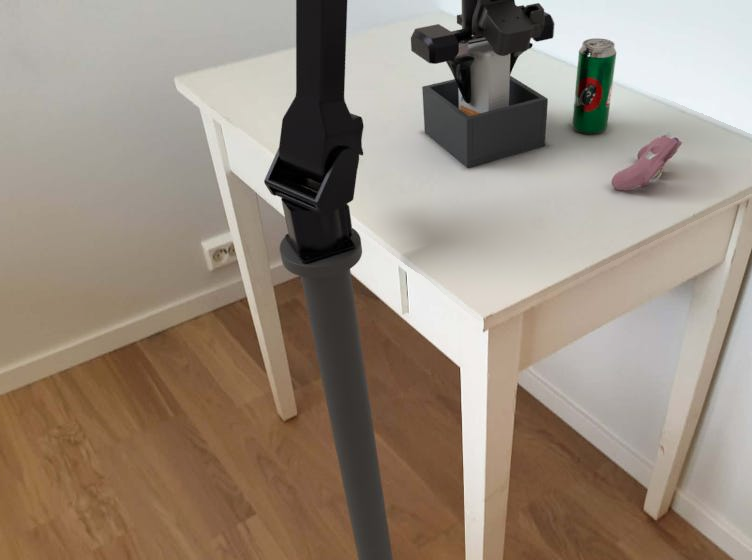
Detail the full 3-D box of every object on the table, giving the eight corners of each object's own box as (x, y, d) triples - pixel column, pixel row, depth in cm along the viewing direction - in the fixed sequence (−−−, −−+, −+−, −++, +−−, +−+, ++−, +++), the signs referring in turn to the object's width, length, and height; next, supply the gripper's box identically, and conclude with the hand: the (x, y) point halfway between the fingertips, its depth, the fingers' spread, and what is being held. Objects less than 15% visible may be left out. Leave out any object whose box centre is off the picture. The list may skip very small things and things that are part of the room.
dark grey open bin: (467, 168, 98) (466, 119, 93) (424, 132, 106) (422, 86, 101) (545, 145, 102) (548, 98, 98) (498, 113, 111) (498, 68, 106)
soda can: (611, 133, 105) (623, 48, 97) (578, 137, 104) (586, 51, 96) (600, 119, 108) (609, 35, 100) (567, 122, 108) (574, 38, 100)
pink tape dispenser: (633, 208, 93) (665, 169, 87) (605, 185, 93) (636, 145, 87) (662, 175, 99) (694, 137, 93) (636, 154, 99) (666, 115, 93)
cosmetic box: (457, 130, 104) (456, 43, 96) (478, 120, 106) (478, 35, 98) (489, 143, 101) (489, 54, 93) (509, 133, 103) (512, 46, 95)
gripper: (449, 3, 81) (452, 136, 92) (584, -22, 88) (573, 104, 98) (405, -21, 88) (412, 105, 99) (533, -42, 95) (527, 77, 105)
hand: (483, 98), depth 100 cm, fingers closed on cosmetic box, 5 cm apart
